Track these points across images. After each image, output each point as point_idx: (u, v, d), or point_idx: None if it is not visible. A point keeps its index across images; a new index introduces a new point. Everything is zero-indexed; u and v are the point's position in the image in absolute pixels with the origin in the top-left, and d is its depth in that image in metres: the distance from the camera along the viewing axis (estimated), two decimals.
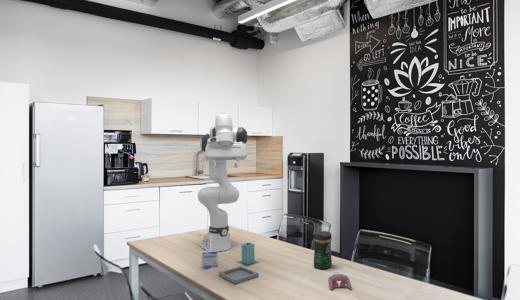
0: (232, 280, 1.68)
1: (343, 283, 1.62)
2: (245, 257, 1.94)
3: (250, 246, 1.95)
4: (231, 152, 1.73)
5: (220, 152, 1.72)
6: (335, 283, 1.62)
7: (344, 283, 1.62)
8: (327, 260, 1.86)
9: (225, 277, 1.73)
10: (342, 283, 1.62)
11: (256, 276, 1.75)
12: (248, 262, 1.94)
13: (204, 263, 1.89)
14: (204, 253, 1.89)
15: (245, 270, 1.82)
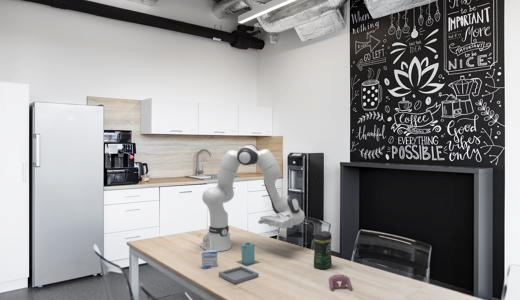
0: (232, 280, 1.68)
1: (343, 284, 1.61)
2: (245, 257, 1.94)
3: (250, 246, 1.95)
4: None
5: None
6: (335, 284, 1.61)
7: (344, 284, 1.61)
8: (327, 260, 1.86)
9: (225, 277, 1.73)
10: (342, 284, 1.61)
11: (256, 276, 1.75)
12: (248, 262, 1.94)
13: (204, 263, 1.89)
14: (204, 253, 1.89)
15: (245, 270, 1.82)
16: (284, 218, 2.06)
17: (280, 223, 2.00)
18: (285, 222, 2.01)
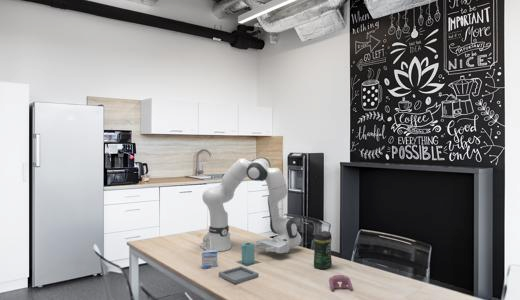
0: (232, 280, 1.68)
1: (344, 284, 1.61)
2: (245, 257, 1.94)
3: (250, 246, 1.95)
4: None
5: None
6: (336, 284, 1.60)
7: (345, 284, 1.61)
8: (327, 260, 1.86)
9: (225, 277, 1.73)
10: (343, 284, 1.61)
11: (256, 276, 1.75)
12: (248, 262, 1.94)
13: (204, 263, 1.89)
14: (204, 253, 1.89)
15: (245, 270, 1.82)
16: (280, 242, 2.05)
17: (276, 248, 1.99)
18: (281, 247, 1.99)
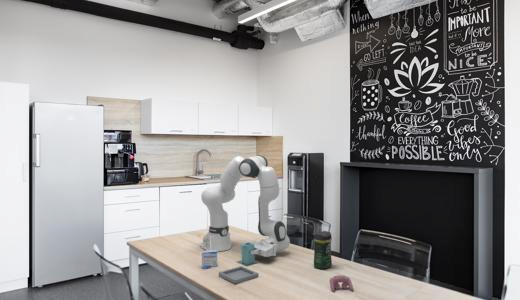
0: (232, 280, 1.68)
1: (344, 284, 1.60)
2: (245, 257, 1.94)
3: (250, 246, 1.95)
4: None
5: None
6: (336, 284, 1.60)
7: (345, 284, 1.60)
8: (327, 260, 1.86)
9: (225, 277, 1.73)
10: (343, 284, 1.60)
11: (256, 276, 1.75)
12: (248, 262, 1.94)
13: (204, 263, 1.89)
14: (204, 253, 1.89)
15: (245, 270, 1.82)
16: (267, 246, 1.99)
17: (263, 252, 1.93)
18: (268, 251, 1.93)
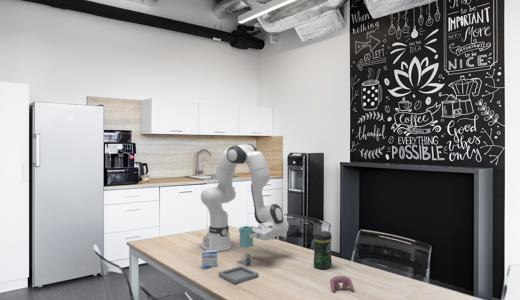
0: (232, 280, 1.68)
1: (345, 285, 1.59)
2: (243, 241, 1.89)
3: (248, 229, 1.89)
4: None
5: None
6: (337, 285, 1.59)
7: (346, 285, 1.59)
8: (327, 260, 1.86)
9: (225, 277, 1.73)
10: (344, 285, 1.59)
11: (256, 276, 1.75)
12: (246, 246, 1.88)
13: (204, 263, 1.89)
14: (204, 253, 1.89)
15: (245, 270, 1.82)
16: (266, 229, 1.93)
17: (261, 235, 1.87)
18: (267, 234, 1.87)
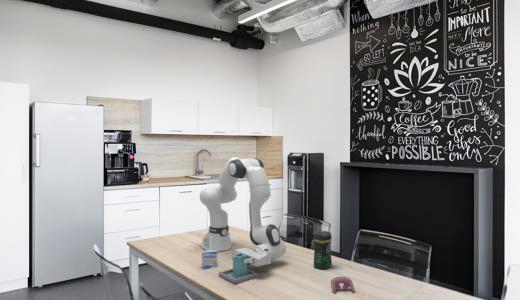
0: (232, 280, 1.68)
1: (346, 286, 1.59)
2: (237, 270, 1.75)
3: (242, 257, 1.75)
4: None
5: None
6: (338, 286, 1.58)
7: (347, 286, 1.59)
8: (327, 260, 1.86)
9: (225, 277, 1.73)
10: (345, 286, 1.59)
11: (256, 276, 1.75)
12: (240, 275, 1.74)
13: (204, 263, 1.89)
14: (204, 253, 1.89)
15: None
16: (261, 253, 1.79)
17: (256, 260, 1.73)
18: (262, 259, 1.73)
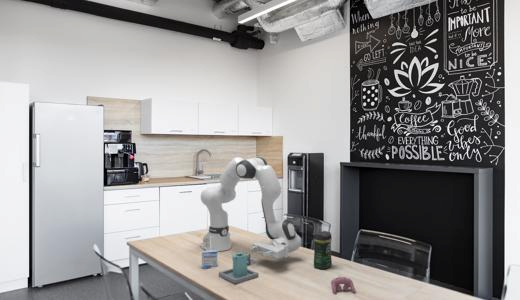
0: (232, 280, 1.68)
1: (346, 286, 1.58)
2: (237, 270, 1.75)
3: (242, 257, 1.75)
4: None
5: None
6: (338, 286, 1.58)
7: (347, 286, 1.58)
8: (327, 260, 1.86)
9: (225, 277, 1.73)
10: (345, 286, 1.58)
11: (256, 276, 1.75)
12: (240, 275, 1.74)
13: (204, 263, 1.89)
14: (204, 253, 1.89)
15: None
16: (279, 246, 1.87)
17: (274, 253, 1.81)
18: (280, 252, 1.81)
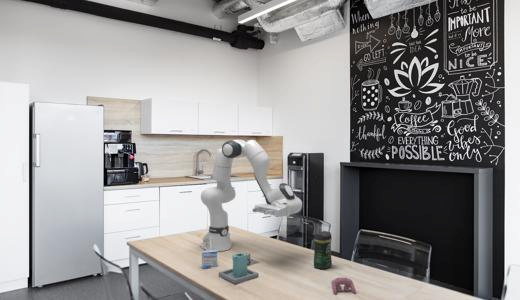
0: (232, 280, 1.68)
1: (347, 287, 1.57)
2: (237, 270, 1.75)
3: (242, 257, 1.75)
4: None
5: None
6: (338, 287, 1.57)
7: (348, 287, 1.58)
8: (327, 260, 1.86)
9: (225, 277, 1.73)
10: (346, 287, 1.57)
11: (256, 276, 1.75)
12: (240, 275, 1.74)
13: (204, 263, 1.89)
14: (204, 253, 1.89)
15: None
16: (280, 206, 1.90)
17: (276, 211, 1.84)
18: (281, 210, 1.84)
